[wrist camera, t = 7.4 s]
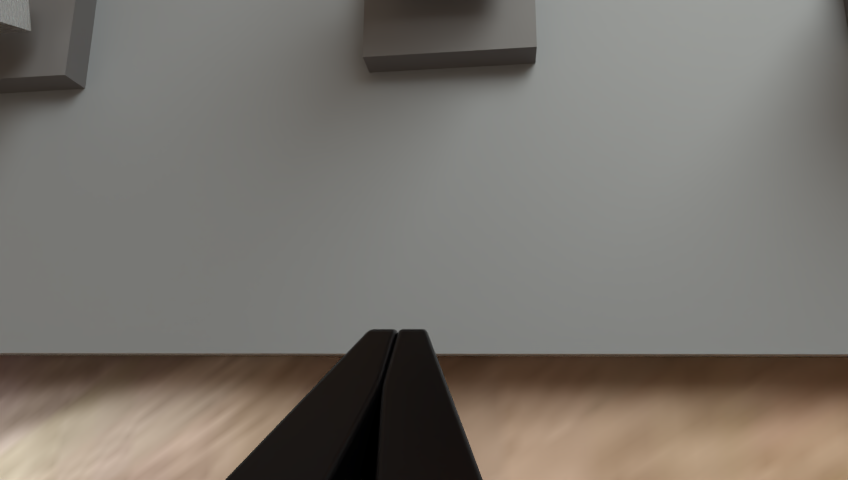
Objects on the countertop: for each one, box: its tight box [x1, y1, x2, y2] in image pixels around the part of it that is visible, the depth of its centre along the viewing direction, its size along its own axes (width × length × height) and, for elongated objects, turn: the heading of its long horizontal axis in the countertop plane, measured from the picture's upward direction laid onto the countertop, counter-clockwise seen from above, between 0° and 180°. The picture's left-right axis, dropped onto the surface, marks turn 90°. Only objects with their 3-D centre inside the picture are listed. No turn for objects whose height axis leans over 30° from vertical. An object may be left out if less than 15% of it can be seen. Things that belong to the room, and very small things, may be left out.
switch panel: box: [0, 0, 848, 357], centre depth 20 cm, size 14×38×3 cm, turn 90°
